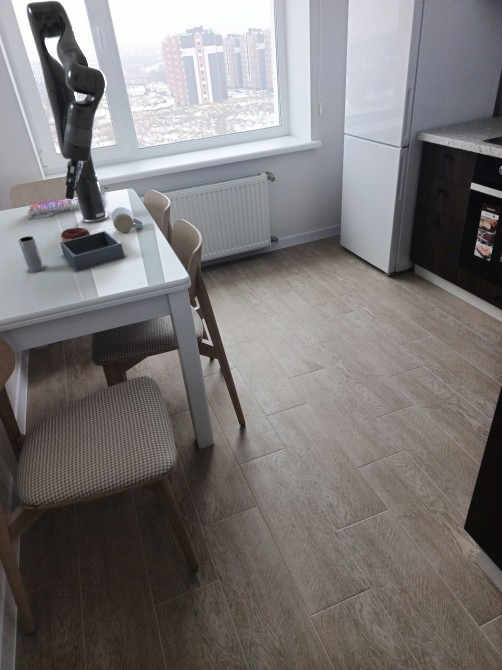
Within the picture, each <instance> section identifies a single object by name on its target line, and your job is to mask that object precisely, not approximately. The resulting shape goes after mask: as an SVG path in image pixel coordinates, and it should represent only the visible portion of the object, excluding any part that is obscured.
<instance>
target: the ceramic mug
mask: <svg viewBox="0 0 502 670" xmlns="http://www.w3.org/2000/svg"><path fill="white" fill-rule="evenodd" d="M111 220H112V225H113V227H114V228H115V230H117V231H118V232H120V233H128V232H129V231H131V230H132V229H133V228H134V229H142V228H143V225H144V223H143V222H142V221H141V220H139V219H136V218H134V217H133V213H132V212H131V210H130V209H129V208H126V207H124V206H119V207H116V208H114V209H113V210H112V213H111Z"/></svg>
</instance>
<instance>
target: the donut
mask: <svg viewBox="0 0 502 670" xmlns="http://www.w3.org/2000/svg"><path fill="white" fill-rule="evenodd" d="M87 235H91V233H90V231H89V230H88V229H87V228H85V227H73V228H66V229H65V230H63V231H62V232H61V234H60V236H61V237H60V238H61V240H62V241H61V242H64V241H68V240H72V239H76V238H80V237H83V236H87Z"/></svg>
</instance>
